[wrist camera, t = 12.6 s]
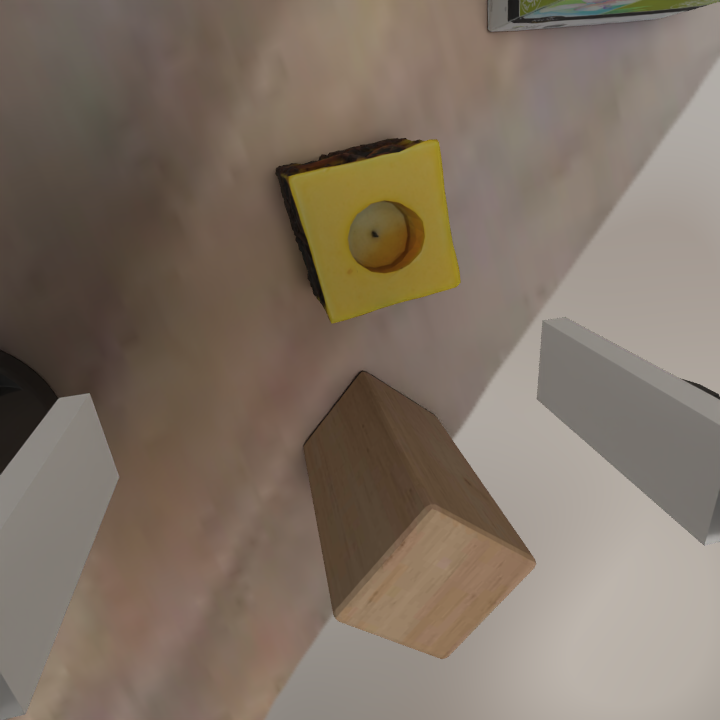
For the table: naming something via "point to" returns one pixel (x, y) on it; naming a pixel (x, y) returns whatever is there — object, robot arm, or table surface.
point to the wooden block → (406, 523)
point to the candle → (372, 225)
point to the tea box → (580, 12)
